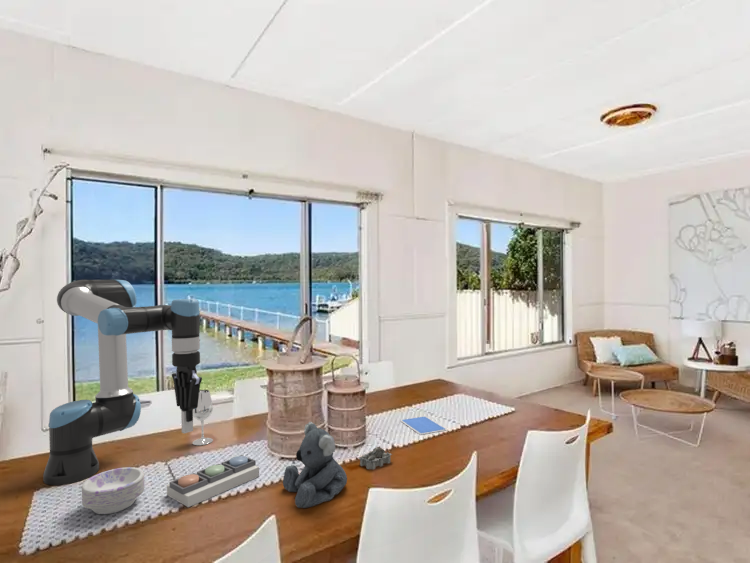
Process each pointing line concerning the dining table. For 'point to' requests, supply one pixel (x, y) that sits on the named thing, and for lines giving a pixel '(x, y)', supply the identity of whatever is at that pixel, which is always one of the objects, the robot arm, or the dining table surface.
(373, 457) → the egg carton
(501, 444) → the dining table surface
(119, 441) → the dining table surface
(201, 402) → the wineglass
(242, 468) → the console
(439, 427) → the tablet computer
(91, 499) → the paper bowls
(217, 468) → the button sage
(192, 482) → the button terracotta
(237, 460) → the button slate
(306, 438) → the koala plush
